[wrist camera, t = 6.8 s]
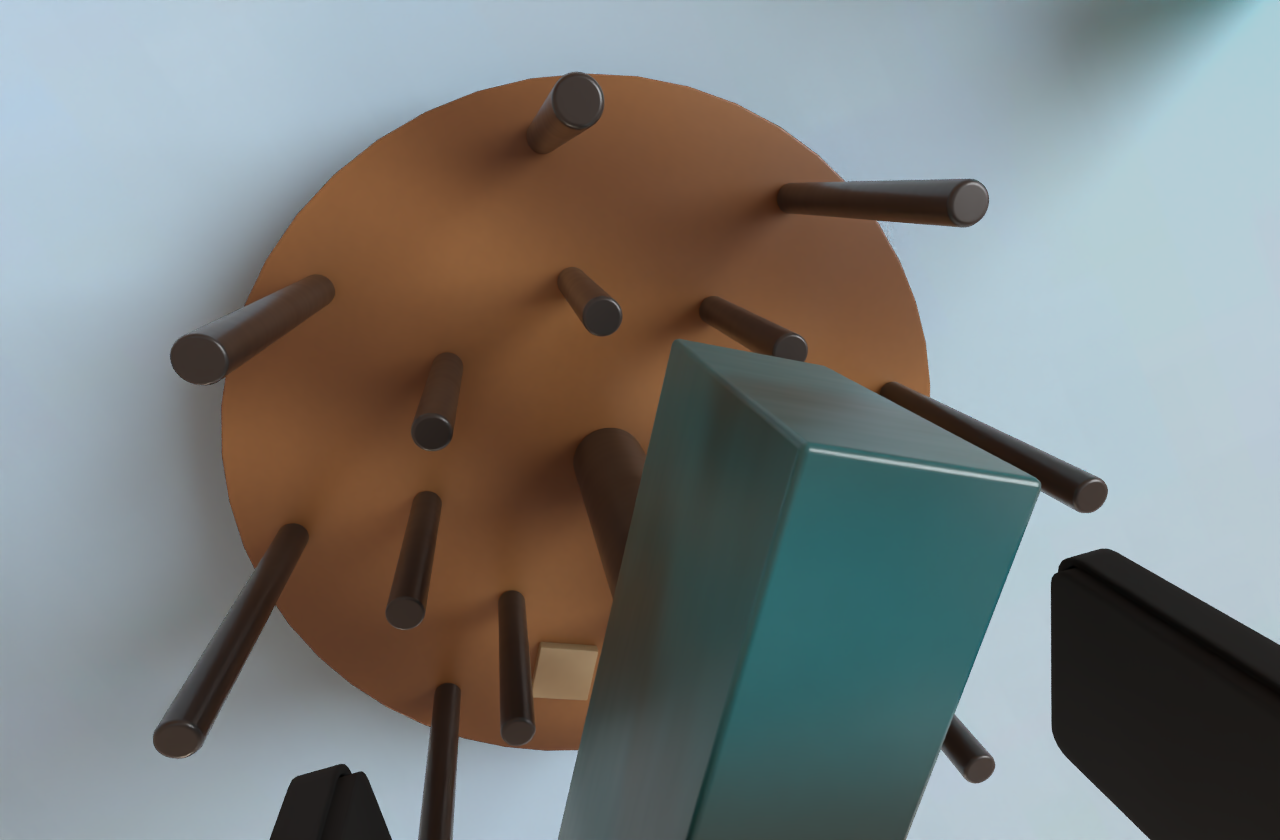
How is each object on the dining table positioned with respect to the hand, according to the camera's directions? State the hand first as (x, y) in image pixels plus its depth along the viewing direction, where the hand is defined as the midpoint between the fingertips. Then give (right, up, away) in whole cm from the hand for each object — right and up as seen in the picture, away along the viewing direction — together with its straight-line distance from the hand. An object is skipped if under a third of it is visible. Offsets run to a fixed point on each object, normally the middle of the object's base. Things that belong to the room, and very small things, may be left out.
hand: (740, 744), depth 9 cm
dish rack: (-2, +3, +10) cm, 11 cm away
